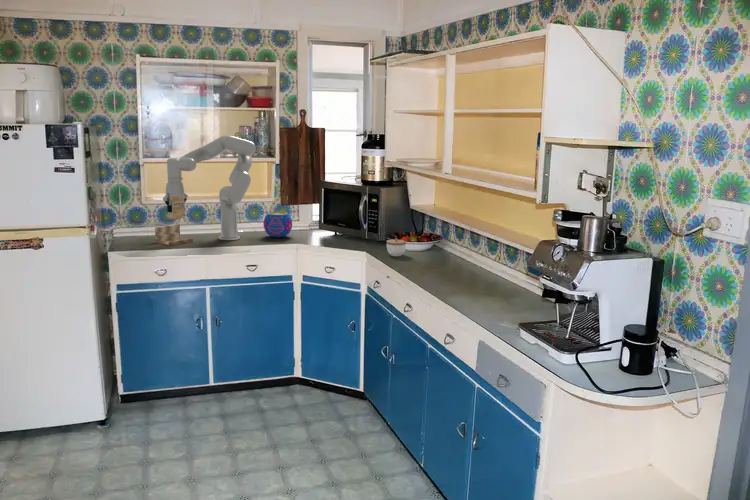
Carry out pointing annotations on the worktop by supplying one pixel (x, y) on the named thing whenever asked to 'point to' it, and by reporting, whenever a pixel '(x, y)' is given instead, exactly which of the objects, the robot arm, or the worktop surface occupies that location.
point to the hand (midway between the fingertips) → (176, 211)
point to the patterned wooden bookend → (170, 235)
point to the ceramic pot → (277, 224)
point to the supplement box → (177, 208)
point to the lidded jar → (396, 247)
